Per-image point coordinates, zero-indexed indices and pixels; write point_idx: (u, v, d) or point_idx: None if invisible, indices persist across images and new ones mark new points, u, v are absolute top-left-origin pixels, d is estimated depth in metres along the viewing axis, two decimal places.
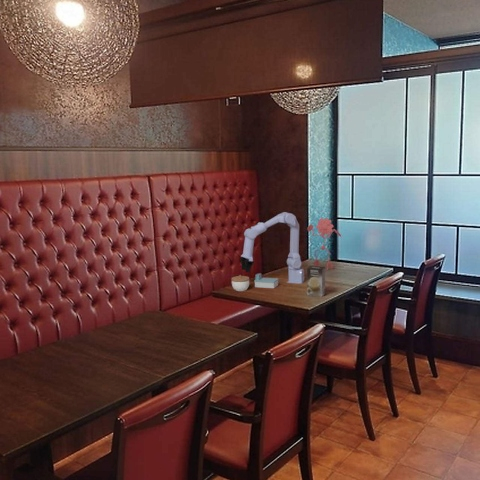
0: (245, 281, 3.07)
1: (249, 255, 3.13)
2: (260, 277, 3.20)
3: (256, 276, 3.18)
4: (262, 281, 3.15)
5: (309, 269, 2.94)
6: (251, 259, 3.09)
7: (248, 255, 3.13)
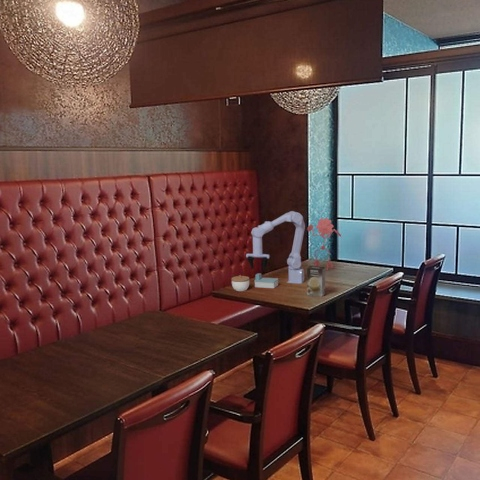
0: (245, 281, 3.07)
1: None
2: (260, 277, 3.20)
3: (256, 276, 3.18)
4: (262, 281, 3.15)
5: (309, 269, 2.94)
6: (269, 256, 3.16)
7: (261, 253, 3.17)
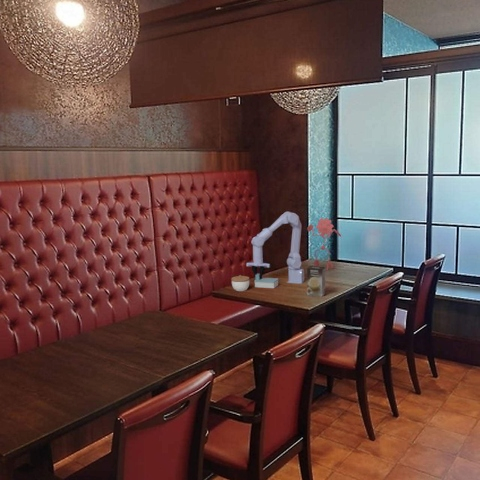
0: (245, 281, 3.07)
1: (262, 262, 3.18)
2: None
3: (256, 276, 3.18)
4: (262, 281, 3.15)
5: (309, 269, 2.94)
6: (269, 265, 3.16)
7: (262, 262, 3.17)
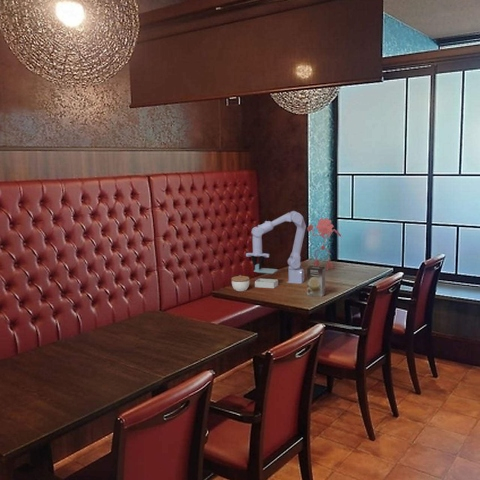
0: (245, 281, 3.07)
1: None
2: None
3: (256, 266, 3.21)
4: (262, 271, 3.18)
5: (309, 269, 2.94)
6: None
7: (261, 252, 3.20)
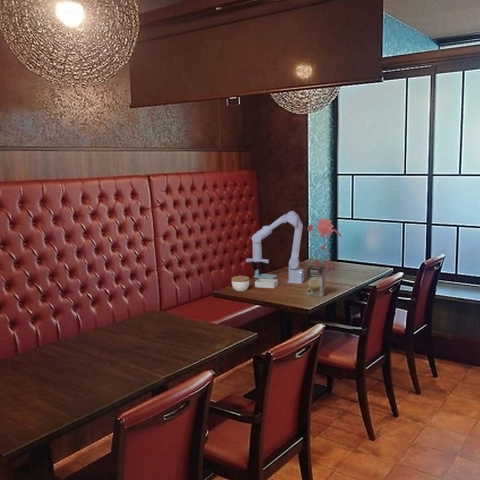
0: (245, 281, 3.07)
1: (261, 258, 3.28)
2: None
3: (255, 272, 3.28)
4: (261, 277, 3.25)
5: (309, 269, 2.94)
6: (268, 261, 3.26)
7: (261, 258, 3.27)
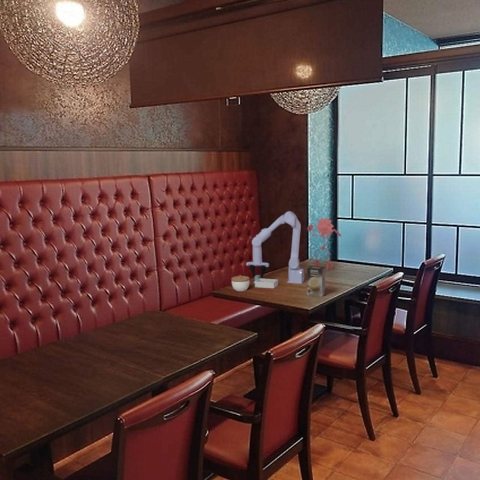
0: (245, 281, 3.07)
1: (261, 261, 3.28)
2: None
3: (255, 278, 3.29)
4: None
5: (309, 269, 2.94)
6: (268, 264, 3.27)
7: (261, 262, 3.27)
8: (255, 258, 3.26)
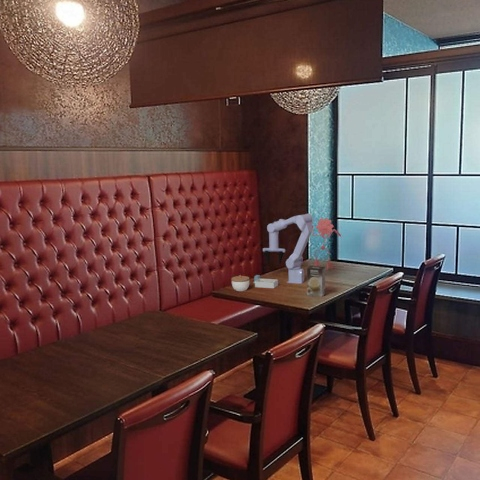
0: (245, 281, 3.07)
1: None
2: None
3: (255, 278, 3.29)
4: None
5: (309, 269, 2.94)
6: (284, 250, 3.33)
7: (277, 247, 3.34)
8: (272, 244, 3.33)
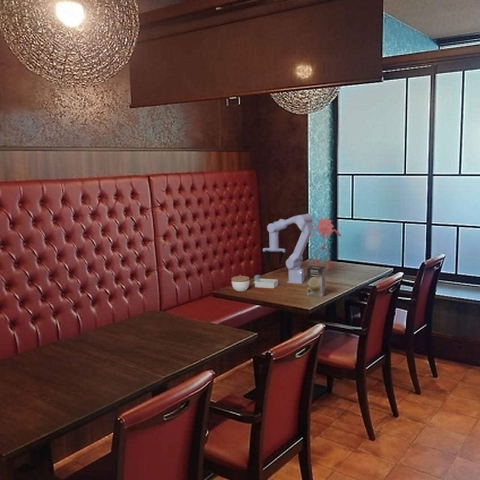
0: (245, 281, 3.07)
1: None
2: None
3: (255, 278, 3.29)
4: None
5: (309, 269, 2.94)
6: None
7: (277, 247, 3.34)
8: (272, 244, 3.33)
